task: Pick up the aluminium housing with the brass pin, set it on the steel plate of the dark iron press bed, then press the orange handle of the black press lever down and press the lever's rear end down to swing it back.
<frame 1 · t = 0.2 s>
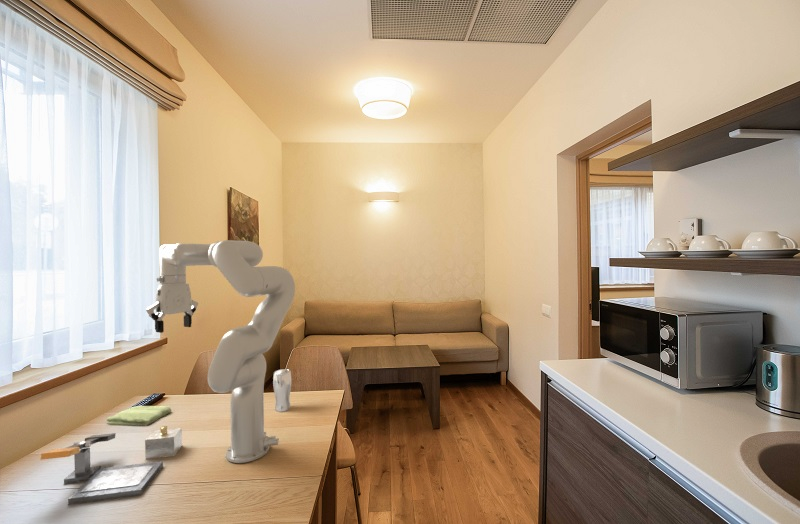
hand: (174, 329, 123), 36 cm above the table, tool pointing down, fingers open, 9 cm apart
press lever: (82, 444, 100), point 9 cm above the table, hinge at 15.0°
press bed: (105, 479, 99), on the table
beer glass: (282, 409, 144), on the table
housing: (164, 452, 112), on the table
washcloth: (139, 419, 137), on the table
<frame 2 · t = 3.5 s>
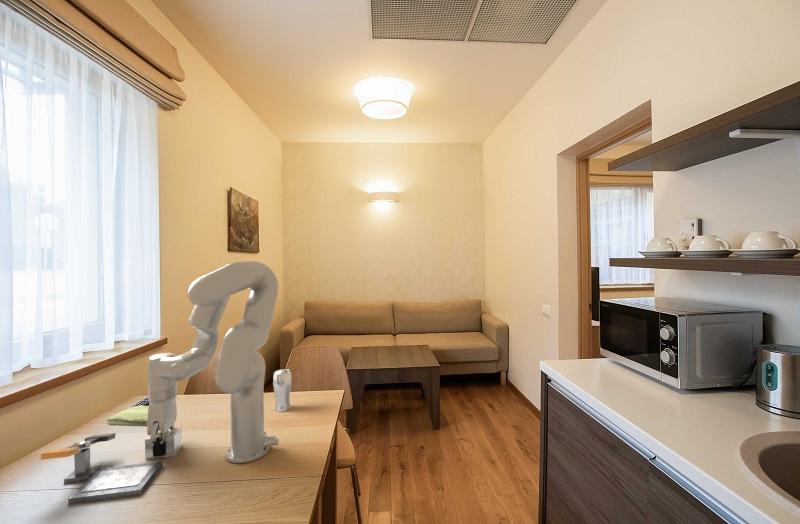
hand: (164, 449, 112), 1 cm above the table, tool pointing down, fingers closed on housing, 6 cm apart
housing: (164, 452, 112), on the table, touching gripper
everything else where it was.
when the fingers open (3 cm above the table, at t = 9.2 s): housing stays where it is, resting on press bed.
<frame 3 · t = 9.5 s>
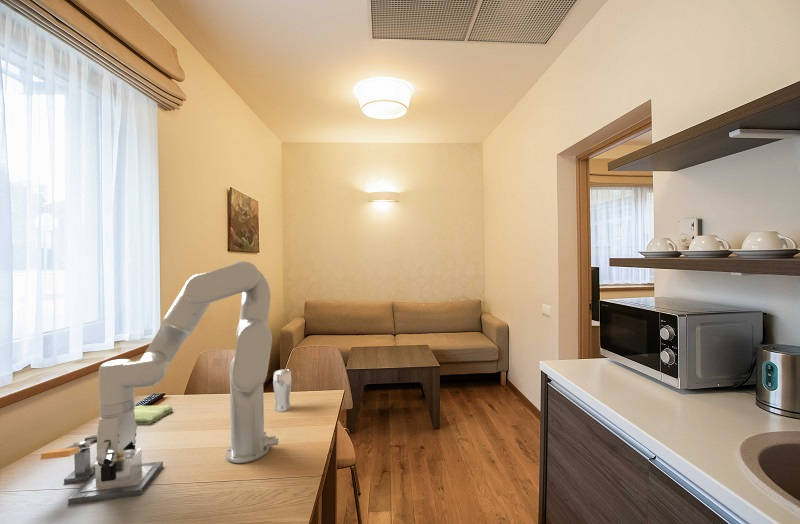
hand: (119, 469, 97), 4 cm above the table, tool pointing down, fingers open, 9 cm apart
housing: (119, 477, 97), point 2 cm above the table, touching press bed
everything else where it was.
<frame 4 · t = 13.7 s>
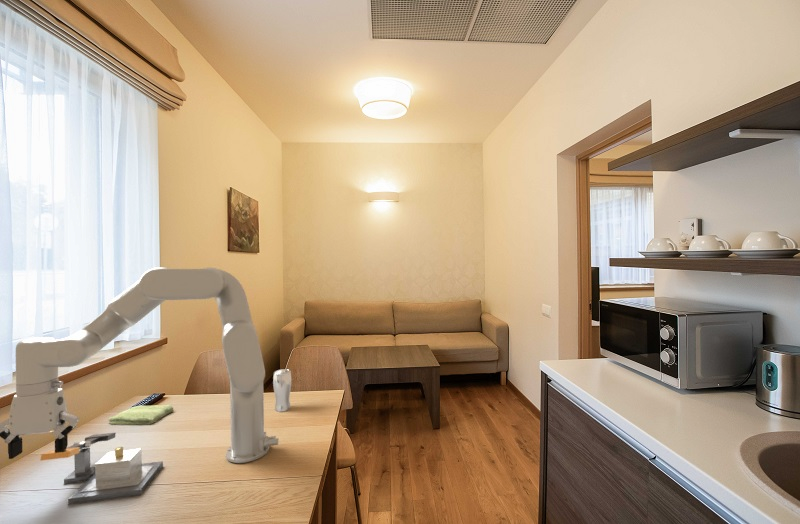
hand: (38, 453, 91), 12 cm above the table, tool pointing down, fingers open, 9 cm apart
press lever: (82, 444, 100), point 9 cm above the table, hinge at 14.1°, touching gripper
everything else where it was.
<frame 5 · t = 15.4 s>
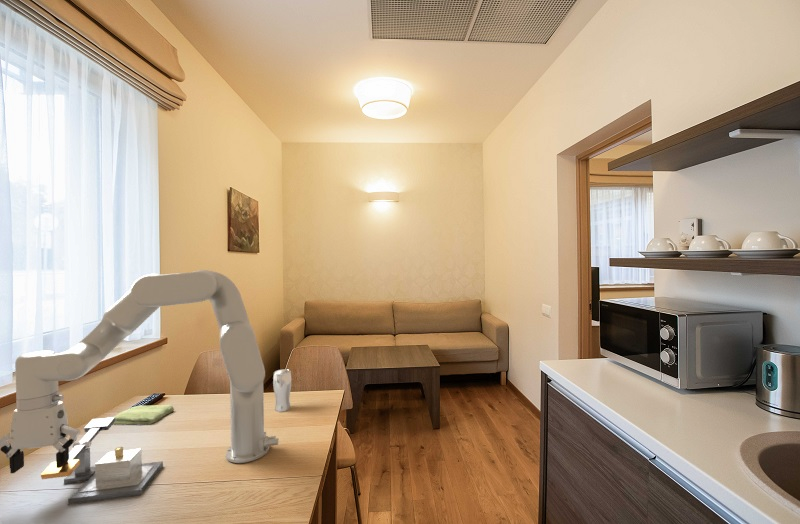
hand: (40, 467, 91), 8 cm above the table, tool pointing down, fingers open, 9 cm apart
press lever: (82, 444, 100), point 9 cm above the table, hinge at -13.3°
everything else where it was.
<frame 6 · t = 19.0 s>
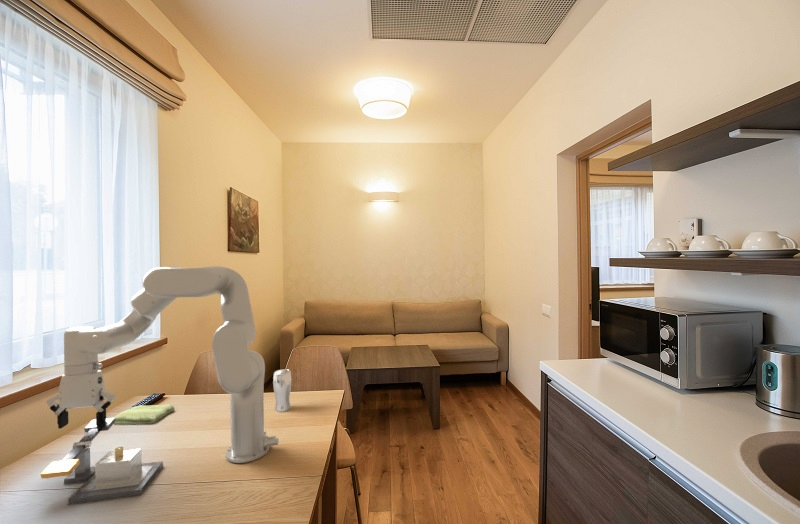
hand: (82, 424, 107), 11 cm above the table, tool pointing down, fingers open, 9 cm apart
press lever: (82, 444, 100), point 9 cm above the table, hinge at -12.2°, touching gripper
everything else where it was.
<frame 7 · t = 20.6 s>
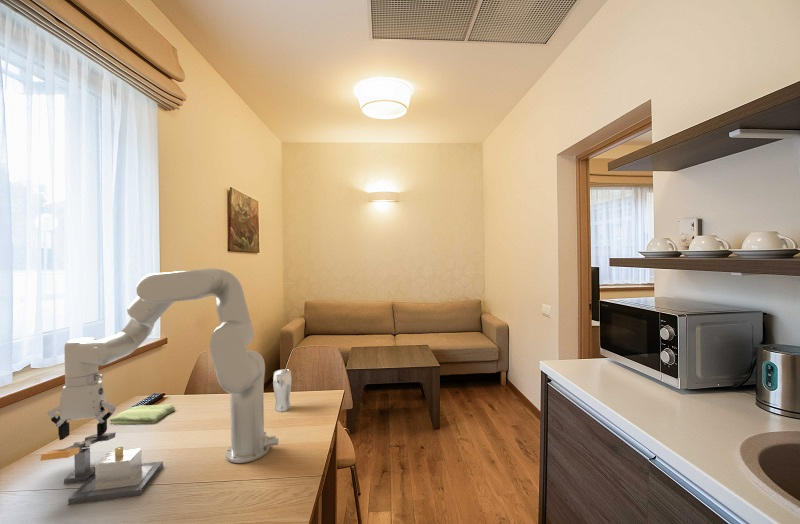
hand: (83, 436, 107), 8 cm above the table, tool pointing down, fingers open, 9 cm apart
press lever: (82, 444, 100), point 9 cm above the table, hinge at 13.9°, touching gripper
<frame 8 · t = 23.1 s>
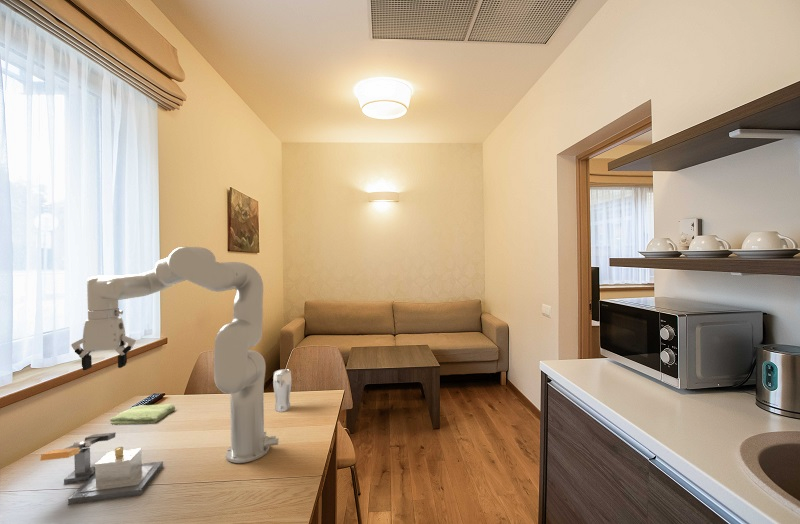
hand: (104, 367, 114), 26 cm above the table, tool pointing down, fingers open, 9 cm apart
press lever: (82, 444, 100), point 9 cm above the table, hinge at 13.9°
at the end: housing inside the target area on the press bed (0.1 cm from its centre), point 1.7 cm above the press bed's base; housing touching press bed; press lever at +14° (first picture: +15°) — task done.
